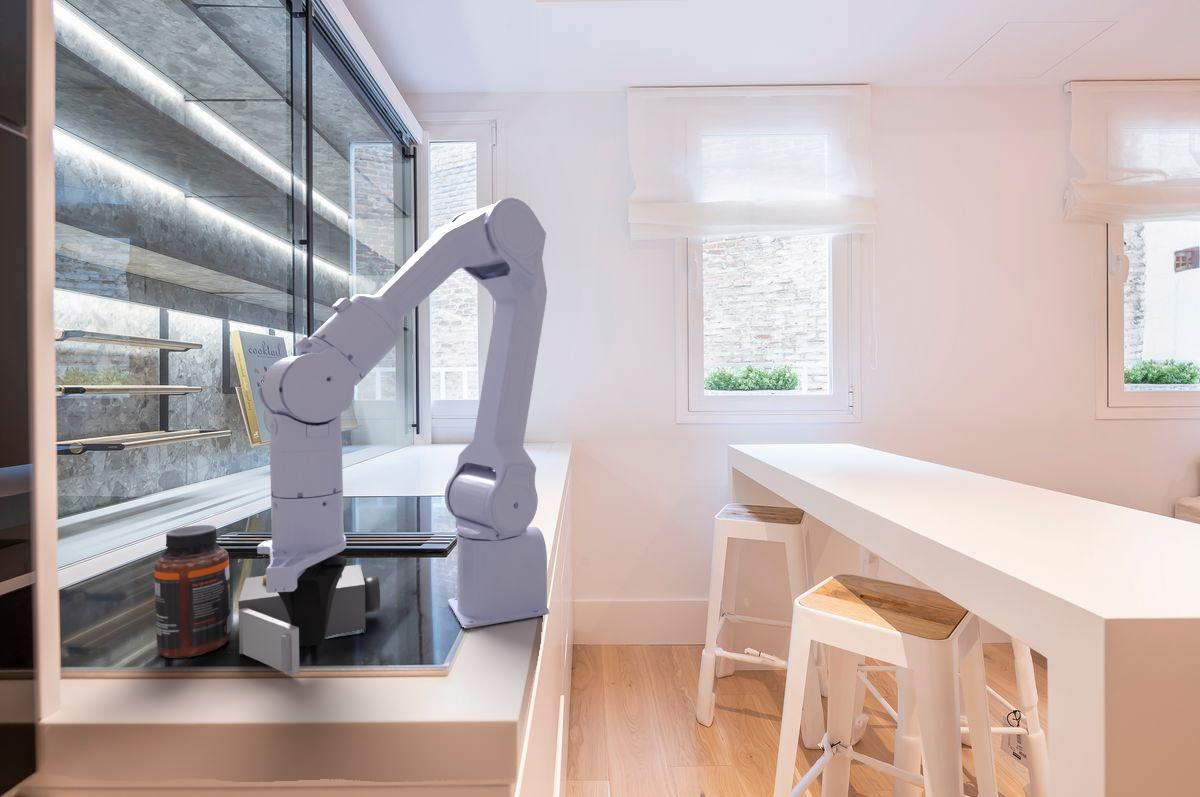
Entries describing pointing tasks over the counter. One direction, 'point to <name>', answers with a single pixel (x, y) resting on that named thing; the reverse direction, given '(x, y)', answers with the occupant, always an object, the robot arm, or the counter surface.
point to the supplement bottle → (192, 593)
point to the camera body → (346, 607)
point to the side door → (269, 641)
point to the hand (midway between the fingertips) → (310, 643)
